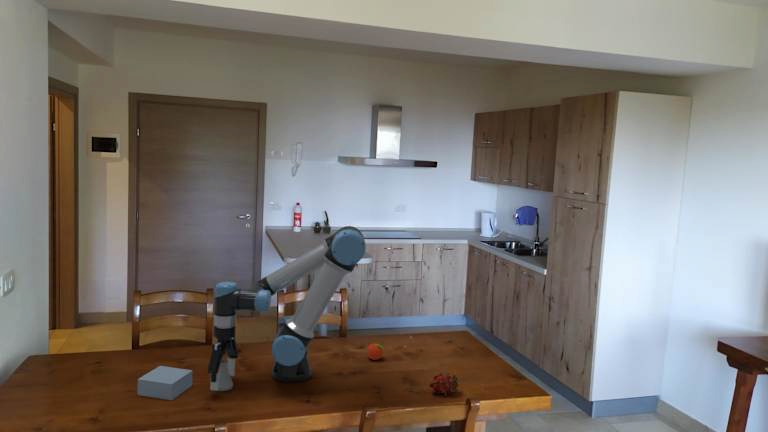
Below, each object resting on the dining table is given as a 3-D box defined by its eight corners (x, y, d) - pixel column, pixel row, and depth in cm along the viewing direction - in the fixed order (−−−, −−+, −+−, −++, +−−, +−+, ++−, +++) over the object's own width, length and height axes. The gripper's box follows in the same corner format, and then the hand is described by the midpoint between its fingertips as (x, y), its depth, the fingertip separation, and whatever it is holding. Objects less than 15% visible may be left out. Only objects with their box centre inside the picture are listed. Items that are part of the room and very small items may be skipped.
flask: (227, 393, 195) (228, 365, 194) (208, 390, 197) (209, 363, 196) (236, 385, 202) (237, 358, 201) (218, 382, 204) (219, 356, 203)
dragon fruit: (460, 396, 207) (431, 404, 203) (451, 377, 213) (422, 384, 209) (465, 385, 201) (435, 392, 198) (455, 365, 207) (426, 371, 203)
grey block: (192, 386, 200) (192, 370, 199) (171, 401, 187) (171, 384, 186) (159, 381, 202) (160, 365, 202) (137, 395, 190) (137, 379, 189)
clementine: (387, 359, 237) (388, 343, 236) (378, 364, 231) (379, 347, 230) (372, 355, 241) (373, 339, 240) (363, 359, 235) (364, 343, 235)
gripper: (229, 315, 210) (227, 368, 212) (198, 334, 185) (196, 395, 188) (248, 317, 209) (246, 370, 211) (219, 337, 184) (217, 398, 186)
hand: (222, 382), depth 199 cm, fingers open, 13 cm apart
